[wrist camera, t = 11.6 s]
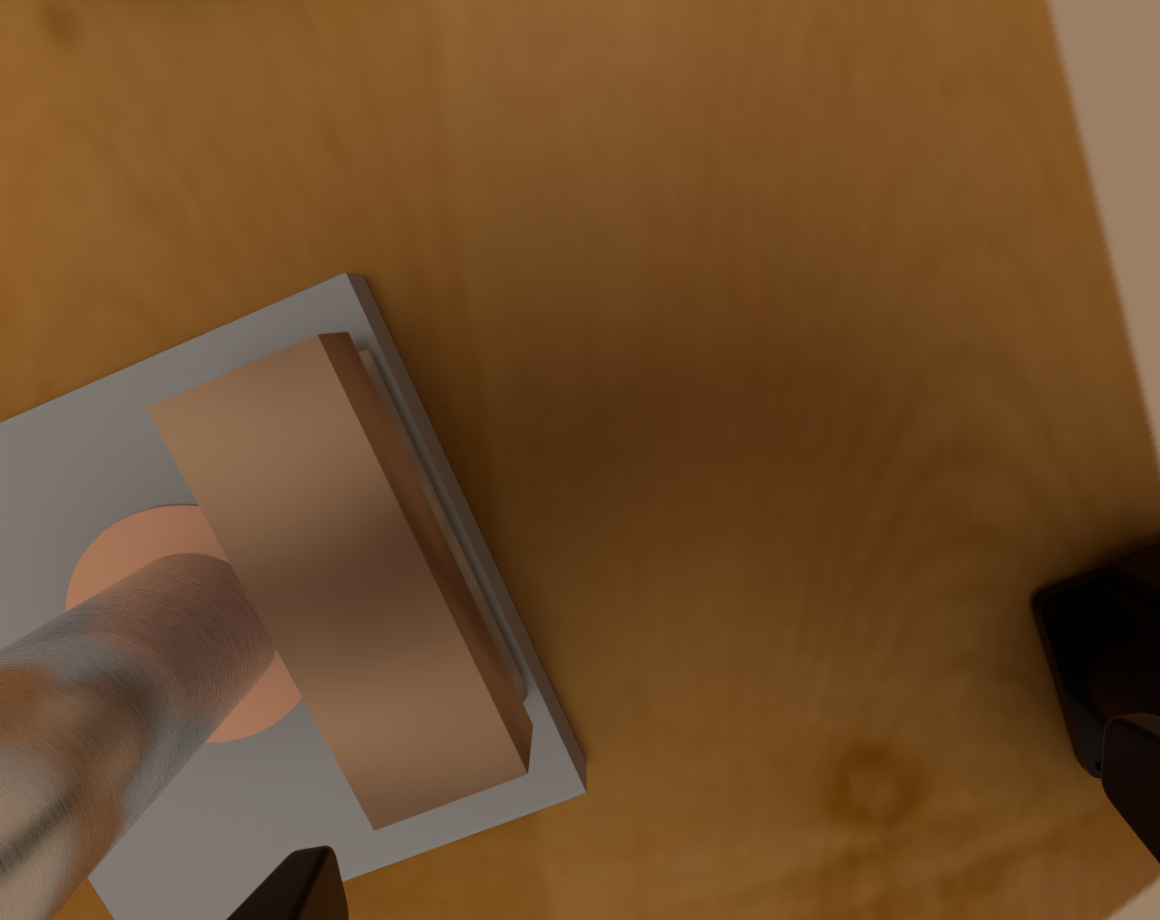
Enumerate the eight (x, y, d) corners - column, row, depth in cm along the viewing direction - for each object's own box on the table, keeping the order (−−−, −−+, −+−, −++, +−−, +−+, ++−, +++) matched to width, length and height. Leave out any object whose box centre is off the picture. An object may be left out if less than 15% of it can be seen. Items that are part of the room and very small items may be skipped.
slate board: (586, 761, 22) (586, 797, 21) (165, 915, 23) (134, 961, 22) (363, 275, 19) (342, 271, 18) (-108, 479, 20) (-168, 494, 19)
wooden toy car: (536, 693, 20) (528, 773, 17) (409, 741, 20) (374, 830, 17) (368, 329, 18) (317, 334, 15) (228, 389, 18) (146, 408, 15)
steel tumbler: (295, 686, 20) (-206, 1349, 7) (145, 714, 20) (-608, 1412, 7) (250, 539, 19) (-409, 995, 6) (94, 569, 19) (-862, 1074, 6)
